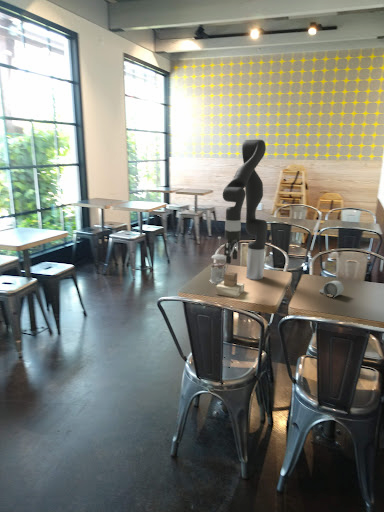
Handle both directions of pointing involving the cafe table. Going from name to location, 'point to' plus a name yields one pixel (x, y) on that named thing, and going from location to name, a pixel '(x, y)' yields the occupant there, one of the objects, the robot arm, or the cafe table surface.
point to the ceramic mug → (332, 288)
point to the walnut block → (230, 279)
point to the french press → (216, 273)
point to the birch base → (230, 289)
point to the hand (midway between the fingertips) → (231, 261)
